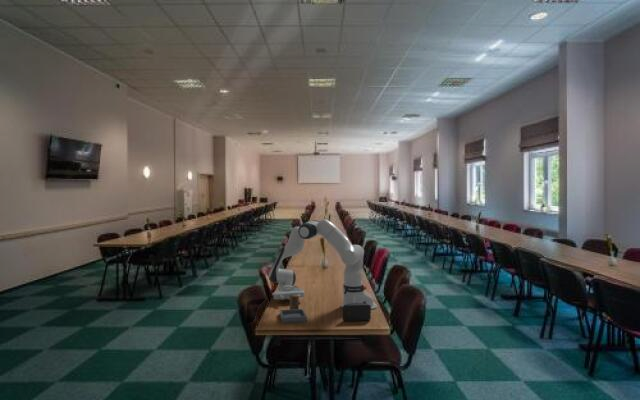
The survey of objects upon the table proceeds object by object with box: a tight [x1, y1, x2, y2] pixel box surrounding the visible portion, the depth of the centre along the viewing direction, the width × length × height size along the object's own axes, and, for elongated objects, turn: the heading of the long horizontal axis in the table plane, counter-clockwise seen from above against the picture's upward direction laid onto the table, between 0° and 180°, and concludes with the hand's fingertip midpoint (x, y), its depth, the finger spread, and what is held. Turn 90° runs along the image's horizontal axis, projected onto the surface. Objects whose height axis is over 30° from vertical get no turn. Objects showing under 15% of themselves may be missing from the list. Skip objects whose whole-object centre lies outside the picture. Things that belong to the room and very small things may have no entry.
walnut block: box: [289, 294, 300, 310], centre depth 222 cm, size 4×4×10 cm
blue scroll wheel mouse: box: [342, 303, 372, 322], centre depth 208 cm, size 16×5×9 cm, turn 96°
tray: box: [279, 308, 308, 324], centre depth 210 cm, size 14×14×3 cm
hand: (291, 297), depth 232 cm, fingers open, 8 cm apart
